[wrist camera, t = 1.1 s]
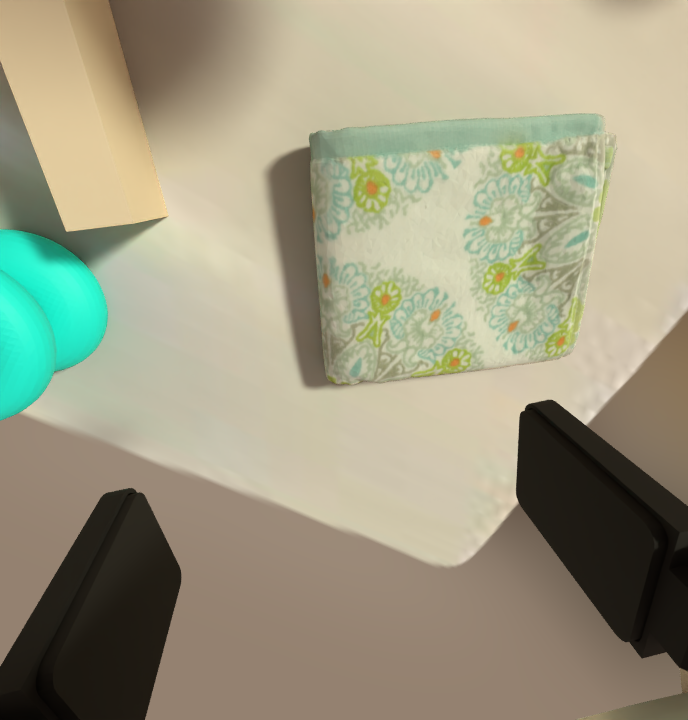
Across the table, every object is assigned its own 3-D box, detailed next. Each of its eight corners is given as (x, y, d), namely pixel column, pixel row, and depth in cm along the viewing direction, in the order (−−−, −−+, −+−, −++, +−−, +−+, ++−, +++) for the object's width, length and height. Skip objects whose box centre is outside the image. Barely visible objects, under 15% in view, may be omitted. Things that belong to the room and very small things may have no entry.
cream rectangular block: (20, -71, 21) (-96, -186, 14) (88, -75, 21) (3, -190, 15) (117, 222, 27) (66, 231, 21) (169, 216, 27) (133, 223, 21)
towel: (548, 347, 36) (587, 370, 32) (323, 371, 34) (328, 399, 29) (588, 121, 29) (646, 107, 24) (303, 133, 27) (307, 120, 22)
